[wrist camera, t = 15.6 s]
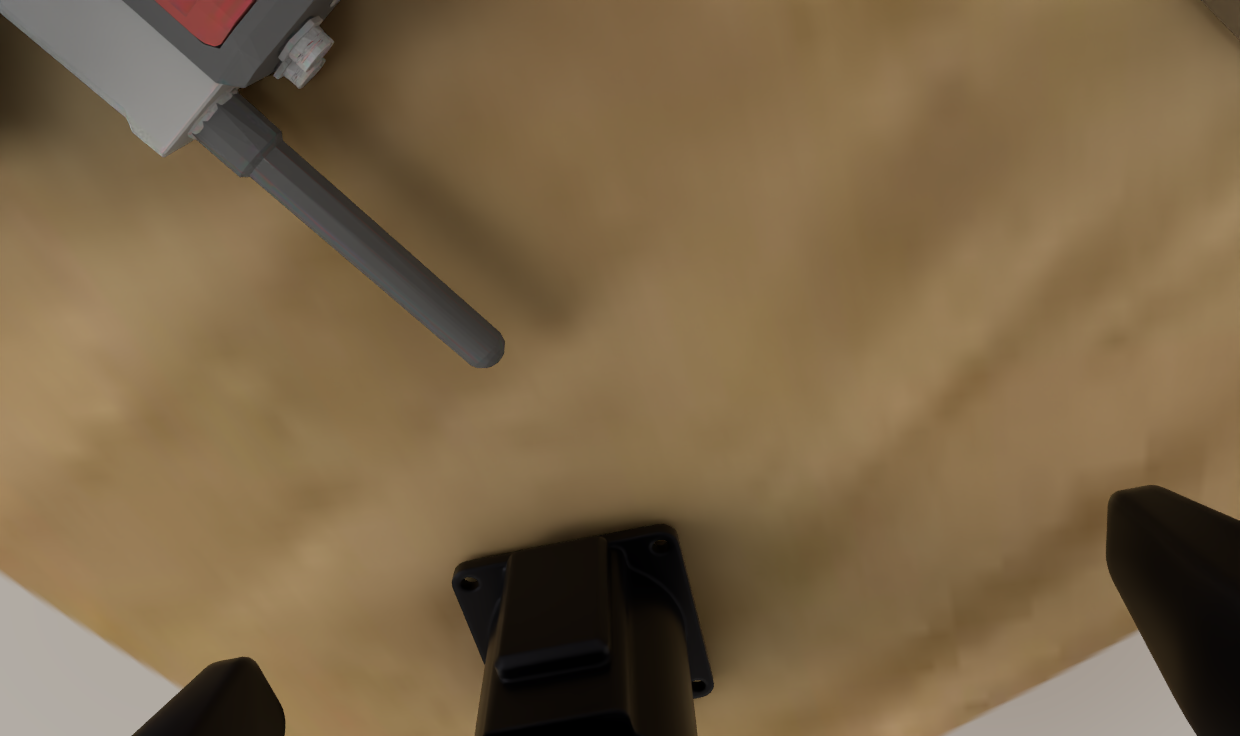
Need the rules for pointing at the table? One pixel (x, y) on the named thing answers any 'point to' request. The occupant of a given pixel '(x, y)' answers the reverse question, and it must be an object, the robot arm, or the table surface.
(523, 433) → the table surface
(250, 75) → the walkie-talkie
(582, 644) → the robot arm
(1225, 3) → the pan
